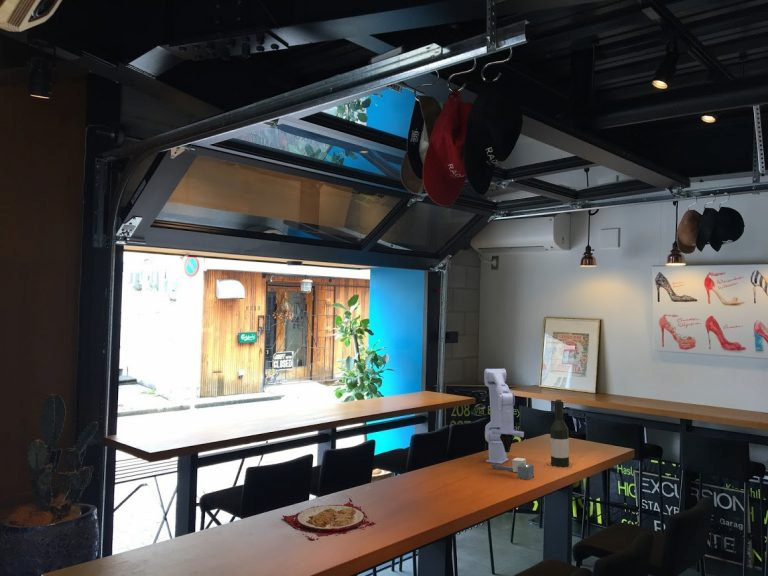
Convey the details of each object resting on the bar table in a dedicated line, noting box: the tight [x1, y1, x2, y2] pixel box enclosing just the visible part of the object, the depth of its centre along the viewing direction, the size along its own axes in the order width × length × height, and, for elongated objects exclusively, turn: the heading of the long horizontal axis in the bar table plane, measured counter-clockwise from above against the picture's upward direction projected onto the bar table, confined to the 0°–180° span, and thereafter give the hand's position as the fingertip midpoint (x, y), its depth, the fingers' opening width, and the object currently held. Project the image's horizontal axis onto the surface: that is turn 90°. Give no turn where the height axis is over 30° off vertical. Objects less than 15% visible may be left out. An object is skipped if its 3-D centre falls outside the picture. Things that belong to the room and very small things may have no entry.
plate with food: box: [282, 497, 379, 541], centre depth 203 cm, size 25×26×4 cm
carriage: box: [511, 457, 527, 473], centre depth 265 cm, size 5×4×5 cm
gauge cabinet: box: [517, 463, 535, 481], centre depth 256 cm, size 6×5×5 cm
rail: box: [491, 463, 513, 472], centre depth 267 cm, size 3×18×2 cm, turn 57°
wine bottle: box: [549, 398, 570, 468], centre depth 277 cm, size 8×8×30 cm
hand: (507, 452), depth 261 cm, fingers closed
